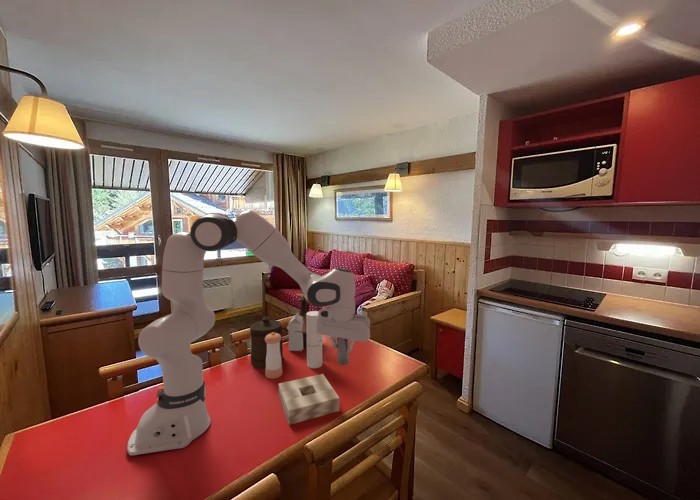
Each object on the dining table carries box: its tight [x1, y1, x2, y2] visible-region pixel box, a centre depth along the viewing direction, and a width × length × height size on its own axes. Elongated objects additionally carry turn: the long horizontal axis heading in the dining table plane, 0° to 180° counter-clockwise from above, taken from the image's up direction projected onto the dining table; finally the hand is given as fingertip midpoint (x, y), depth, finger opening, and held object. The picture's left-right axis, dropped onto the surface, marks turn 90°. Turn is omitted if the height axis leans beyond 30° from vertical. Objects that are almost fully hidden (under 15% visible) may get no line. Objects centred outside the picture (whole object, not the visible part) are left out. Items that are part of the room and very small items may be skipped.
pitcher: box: [286, 293, 310, 349], centre depth 159 cm, size 18×17×28 cm
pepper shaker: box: [264, 332, 283, 380], centre depth 130 cm, size 7×7×19 cm
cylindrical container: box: [306, 310, 323, 369], centre depth 138 cm, size 7×7×25 cm
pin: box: [336, 337, 350, 366], centre depth 109 cm, size 4×4×10 cm
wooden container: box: [249, 316, 284, 369], centre depth 142 cm, size 15×15×22 cm
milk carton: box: [287, 312, 304, 352], centre depth 156 cm, size 7×7×19 cm
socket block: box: [278, 373, 340, 426], centre depth 110 cm, size 18×18×5 cm
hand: (342, 348), depth 109 cm, fingers closed on pin, 4 cm apart
